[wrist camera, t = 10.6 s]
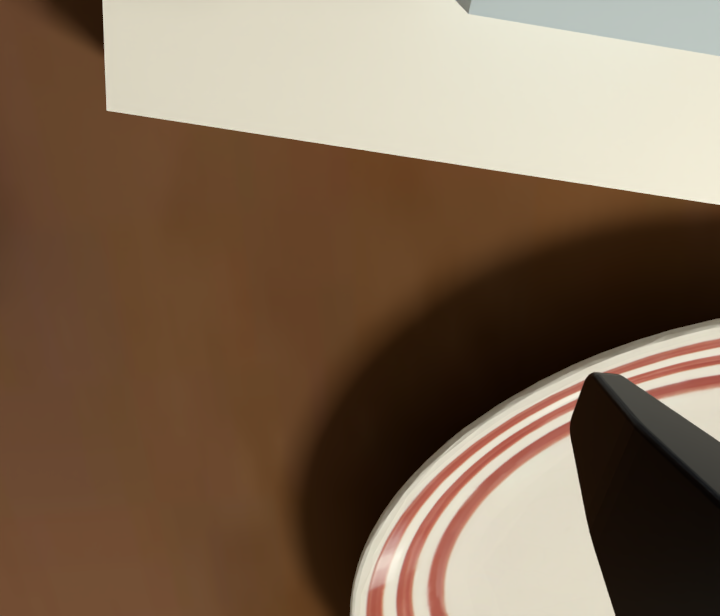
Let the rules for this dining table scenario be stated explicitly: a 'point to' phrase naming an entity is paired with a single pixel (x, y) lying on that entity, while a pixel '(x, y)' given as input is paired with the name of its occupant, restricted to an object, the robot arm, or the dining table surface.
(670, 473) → the robot arm
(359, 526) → the dining table surface
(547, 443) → the dinner plate
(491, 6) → the light gray cube
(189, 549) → the dining table surface
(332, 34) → the painted board
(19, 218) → the dining table surface
